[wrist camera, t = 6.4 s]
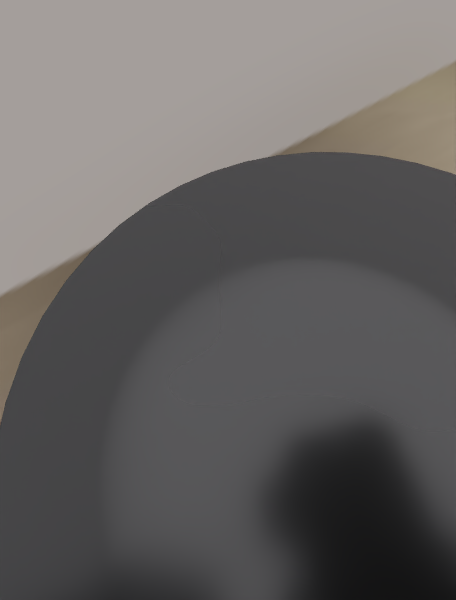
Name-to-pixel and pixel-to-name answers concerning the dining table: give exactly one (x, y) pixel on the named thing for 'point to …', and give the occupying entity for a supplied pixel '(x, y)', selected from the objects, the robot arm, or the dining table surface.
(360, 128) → the dining table surface
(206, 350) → the shiny metal cylinder
